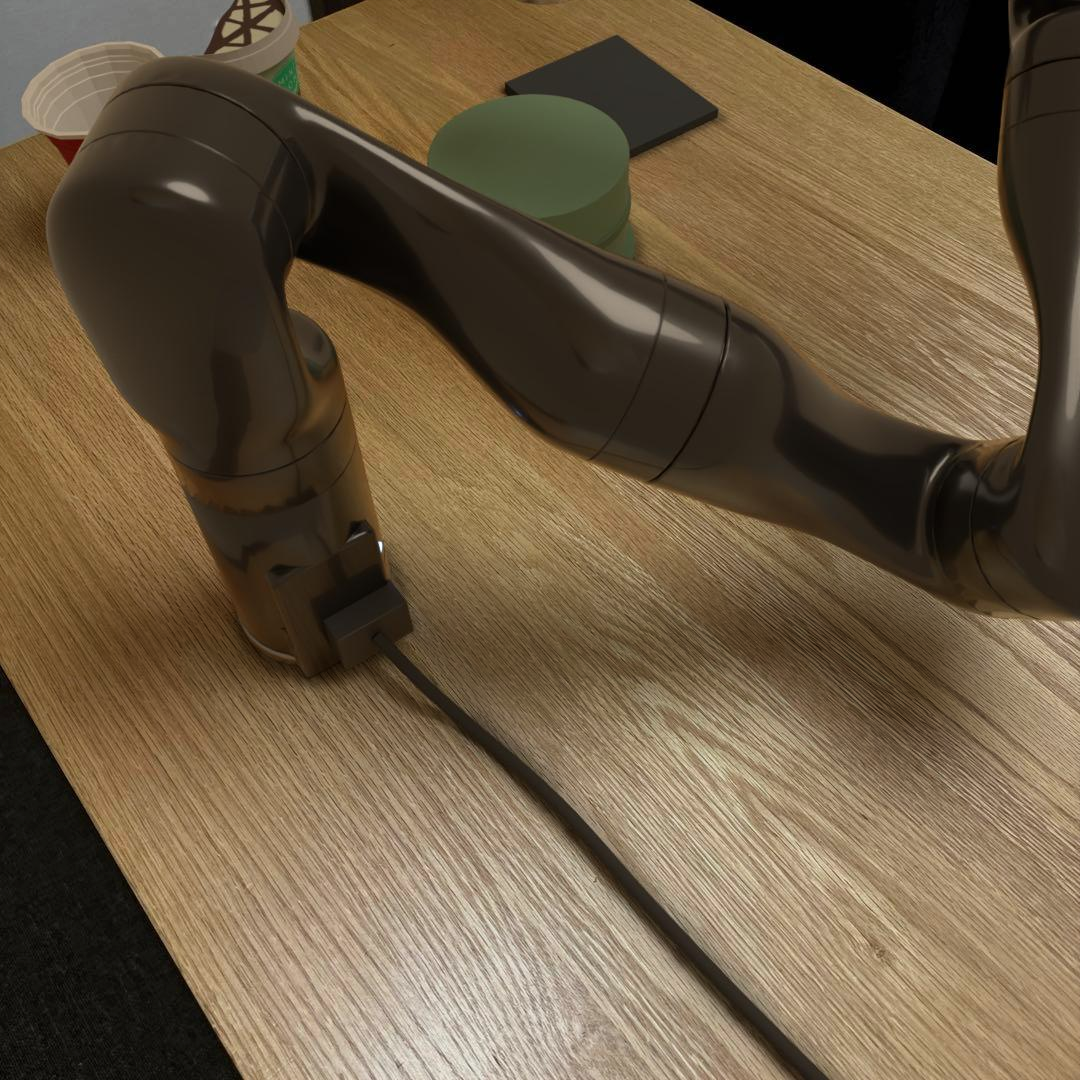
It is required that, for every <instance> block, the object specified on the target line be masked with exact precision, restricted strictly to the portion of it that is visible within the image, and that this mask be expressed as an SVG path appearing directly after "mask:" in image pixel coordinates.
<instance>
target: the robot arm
mask: <svg viewBox="0 0 1080 1080" xmlns="http://www.w3.org/2000/svg"><path fill="white" fill-rule="evenodd" d="M1007 1H1008V37H1009V38H1008V40H1009V41H1008V42H1009V55H1008V60H1007V66H1006V71H1005V75H1004V76H1005V77H1004V85H1003V95H1002V103H1001V104H1002V105H1001V116H1000V128H999V139H998V147H997V149H998V150H997V161H996V187H997V198H998V207H999V212H1000V217H1001V218H1000V219H1001V221H1002V226H1003V229H1004V233H1005V236H1006V239H1007V241H1008V244H1009V246H1010V249H1011V251H1012V254H1013V257H1014V259H1015V262H1016V265H1017V267H1018V269H1019V272H1020V275H1021V277H1022V280H1023V281H1024V285H1025V288H1026V291H1027V294H1028V296H1029V300H1030V304H1031V307H1032V308H1031V309H1032V312H1033V313H1032V314H1033V318H1034V323H1035V327H1036V335H1037V373H1036V381H1035V388H1034V394H1033V400H1032V406H1031V410H1030V415H1029V419H1028V424H1027V428H1026V433H1025V434H1022V435H1021V434H1020V435H1016V436H1015V435H1014V436H1009V437H1005V438H997V439H972V438H966V437H963V436H962V437H961V436H957V435H954V434H949V433H945V432H942V431H939V430H937V429H932V428H929V427H925V426H923V425H920V424H917V423H914V422H912V421H909V420H906V419H903V418H901V417H897V416H895V415H892V414H889V413H886V412H884V411H881V410H879V409H878V408H875V407H872V406H871V405H869V404H866V403H864V402H862V401H861V400H859V399H857V398H856V397H854V396H852V395H851V394H850V393H848V392H847V391H845V390H844V389H842V388H841V386H838V385H837V383H835V382H834V381H833V380H832V379H831V378H830V377H828V375H826V373H825V372H823V371H822V369H820V367H819V366H818V365H817V364H816V363H815V362H814V361H813V360H812V359H811V358H810V357H809V356H808V355H807V354H806V353H805V352H804V351H803V350H802V349H801V348H800V347H799V346H797V344H795V343H794V341H792V340H791V339H790V338H789V337H788V336H786V334H784V333H783V332H782V331H781V330H779V329H778V328H777V327H776V326H775V325H773V324H772V323H770V322H769V321H768V320H767V319H766V318H763V317H762V316H761V315H759V314H757V313H756V312H755V311H752V310H751V309H749V308H747V307H746V306H743V305H741V304H739V302H738V303H737V302H736V301H734V300H732V299H730V298H727V297H725V296H723V295H720V294H718V293H716V292H713V291H711V290H709V289H706V288H705V287H702V286H699V285H697V284H695V283H692V282H690V281H688V280H686V279H683V278H681V277H678V276H676V275H674V274H671V273H669V272H667V271H665V270H662V269H659V268H657V267H655V266H651V265H648V264H647V263H644V262H640V261H638V260H635V259H634V260H632V259H630V258H627V257H624V256H622V255H619V254H617V253H614V252H612V251H609V250H607V249H604V248H602V247H599V246H597V245H595V244H593V243H590V242H588V241H586V240H584V239H581V238H579V237H577V236H575V235H572V234H570V233H568V232H566V231H564V230H561V229H559V228H557V227H555V226H553V225H551V224H549V223H546V222H544V221H542V220H540V219H538V218H535V217H533V216H531V215H529V214H526V213H524V212H522V211H520V210H518V209H516V208H514V207H512V206H509V205H507V204H505V203H503V202H500V201H498V200H496V199H493V198H491V197H489V196H487V195H484V194H482V193H480V192H478V191H476V190H473V189H471V188H469V187H467V186H465V185H463V184H461V183H459V182H457V181H455V180H453V179H451V178H449V177H447V176H445V175H443V174H441V173H439V172H437V171H435V170H433V169H431V168H429V167H428V166H427V165H426V164H424V163H422V162H420V161H418V160H417V159H416V158H415V159H414V158H413V157H411V156H409V155H408V154H405V153H404V152H402V151H400V150H398V149H396V148H394V147H392V146H391V145H389V144H387V143H386V142H384V141H381V139H378V138H377V137H374V136H372V135H371V134H369V133H367V132H366V131H364V130H362V129H360V128H358V127H356V126H355V125H353V124H351V123H349V122H348V121H345V120H344V119H342V118H340V117H339V116H336V115H335V114H333V113H332V112H329V111H328V110H326V109H324V108H322V107H320V106H319V105H317V104H315V103H313V102H311V100H308V99H307V98H304V97H303V96H302V95H301V96H299V95H297V94H295V93H293V92H291V91H289V90H288V89H286V88H284V87H282V86H280V85H278V84H276V83H274V82H271V81H269V80H267V79H265V78H263V77H261V76H259V75H256V74H254V73H252V72H250V71H247V70H245V69H242V68H239V67H237V66H234V65H231V64H228V63H225V62H221V61H218V60H214V59H207V58H201V57H195V56H192V55H172V56H170V55H169V56H165V57H161V58H157V59H154V60H150V61H148V62H145V63H143V64H141V65H139V66H138V67H136V68H134V69H133V70H132V71H131V72H130V73H129V74H128V75H127V76H125V77H124V78H123V79H122V81H121V82H120V83H119V84H118V86H117V87H116V89H115V90H114V92H113V94H112V95H111V97H110V98H109V100H108V102H107V103H106V105H105V106H104V108H103V110H102V111H101V113H100V114H99V116H98V117H97V119H96V121H95V122H94V124H93V126H92V128H91V129H90V131H89V133H88V134H87V136H86V138H85V140H84V141H83V143H82V145H81V147H80V148H79V150H78V152H77V153H76V155H75V157H74V159H73V160H72V163H71V164H70V166H69V165H68V167H67V169H66V171H65V172H64V174H63V175H62V178H61V180H60V181H59V183H58V185H57V187H56V188H55V190H54V192H53V194H52V196H51V199H50V201H49V203H48V206H47V212H46V216H45V237H46V244H47V247H48V248H47V249H48V253H49V256H50V257H49V258H50V260H51V263H52V267H53V269H54V272H55V275H56V277H57V280H58V281H59V284H60V286H61V288H62V291H63V293H64V295H65V297H66V299H67V300H68V303H69V304H70V307H71V308H72V310H73V312H74V313H75V316H76V318H77V319H78V321H79V323H80V325H81V327H82V329H83V330H84V332H85V334H86V336H87V338H88V339H89V342H90V343H91V345H92V347H93V348H94V350H95V353H96V354H97V356H98V358H99V360H100V362H101V363H102V365H103V367H104V368H105V370H106V372H107V374H108V375H109V377H110V380H111V381H112V383H113V385H114V386H115V388H116V390H117V391H118V393H119V395H120V396H121V397H122V399H123V400H124V401H125V402H126V404H127V405H128V406H129V407H130V408H131V409H132V410H133V411H134V413H136V414H137V415H138V416H139V417H140V418H141V419H142V420H144V422H146V423H147V424H148V425H149V426H150V427H151V428H153V429H154V431H156V433H157V435H158V437H159V440H160V442H161V443H162V446H163V448H164V450H165V452H166V455H167V457H168V459H169V461H170V464H171V466H172V468H173V470H174V472H175V475H176V478H177V480H178V483H179V485H180V487H181V489H182V491H183V493H184V496H185V497H186V501H187V503H188V505H189V507H190V510H191V512H192V514H193V516H194V519H195V520H196V523H197V525H198V527H199V530H200V533H201V534H202V537H203V539H204V541H205V544H206V545H207V548H208V551H209V553H210V554H211V556H212V559H213V561H214V564H215V566H216V568H217V570H218V573H219V575H220V578H221V579H222V582H223V584H224V586H225V588H226V591H227V593H228V595H229V597H230V599H231V601H232V603H233V606H234V608H235V610H236V615H237V618H238V620H239V623H240V626H241V628H242V630H243V632H244V634H245V636H246V638H247V639H248V640H249V641H250V643H251V644H252V645H253V646H254V648H256V649H257V650H258V651H259V652H261V653H262V654H264V655H265V656H266V657H268V658H271V659H273V660H275V661H277V662H280V663H283V664H287V665H293V666H298V668H299V669H300V670H301V671H302V673H303V674H304V675H305V677H307V678H312V677H315V676H316V675H318V674H320V673H321V672H323V671H325V670H326V669H328V668H330V667H332V666H334V665H335V664H337V663H339V662H341V664H342V665H343V667H344V669H346V670H349V669H351V668H353V667H355V666H357V665H358V664H360V663H362V662H364V661H365V660H367V659H369V658H370V657H372V656H374V655H376V654H377V653H379V652H382V653H383V655H384V656H385V657H386V658H387V659H388V660H389V661H390V662H391V663H392V664H393V665H394V666H395V667H396V668H397V669H398V670H399V671H400V673H402V674H403V676H404V677H405V678H407V680H408V681H410V682H411V684H412V685H414V686H415V687H416V689H418V690H419V691H420V692H421V693H422V694H423V695H424V696H425V697H426V698H427V699H428V700H429V701H430V702H432V703H433V704H434V705H435V706H436V707H437V708H438V709H439V710H441V712H443V713H444V714H445V715H446V716H447V717H448V718H449V719H451V720H452V721H453V722H454V723H455V724H456V725H458V726H459V727H460V728H461V729H462V730H463V731H464V732H466V734H468V735H469V736H470V737H471V738H472V739H473V740H475V741H476V742H477V743H478V744H479V745H481V747H483V748H484V749H485V750H486V751H488V753H490V754H491V755H492V756H493V757H494V758H496V759H497V760H498V761H500V763H502V764H503V765H504V766H505V767H506V768H508V769H509V770H510V771H511V772H512V773H513V774H515V776H517V777H518V778H519V779H520V780H521V781H522V782H523V783H525V784H526V786H528V787H529V788H530V789H531V790H532V791H533V792H534V793H536V794H537V795H538V796H539V798H541V799H542V800H543V801H544V802H545V803H546V804H547V805H548V806H549V807H550V808H551V809H552V810H553V811H554V812H555V813H556V815H558V816H559V817H560V818H561V819H562V820H563V821H564V822H565V823H566V825H567V826H568V827H569V828H570V829H571V830H572V831H573V832H574V833H575V834H576V835H577V836H578V837H579V838H580V840H581V841H582V842H583V843H584V844H585V845H586V846H587V848H588V849H589V850H590V851H591V853H593V854H594V856H595V857H596V858H597V859H598V860H599V861H600V863H601V864H602V865H603V866H604V867H605V869H606V870H607V871H608V872H609V873H610V875H612V876H613V877H614V879H615V880H616V881H617V882H618V884H620V886H621V887H622V888H623V890H625V892H627V894H628V895H629V896H630V897H631V898H632V899H633V900H634V902H635V903H636V904H637V905H638V906H639V907H640V909H642V910H643V911H644V912H645V913H646V914H647V916H648V917H649V918H650V920H652V921H653V922H654V923H655V924H656V926H658V927H659V929H660V930H661V931H662V932H663V933H664V934H665V935H666V937H668V939H670V940H671V942H672V943H673V944H674V945H675V946H676V947H677V948H678V949H679V950H680V952H682V954H683V955H684V956H685V957H686V958H687V959H688V960H689V961H690V962H691V963H692V965H694V967H696V969H697V970H698V971H699V972H700V973H701V974H702V975H703V976H704V977H705V978H706V979H707V980H708V982H710V983H711V984H712V985H713V987H714V988H715V989H716V990H717V991H718V992H719V993H720V994H721V995H722V996H723V997H724V998H725V999H726V1000H727V1001H728V1002H729V1003H730V1004H731V1005H732V1006H733V1007H734V1008H735V1009H736V1010H737V1012H739V1013H740V1015H741V1016H743V1017H744V1018H745V1020H746V1021H747V1022H748V1023H749V1024H750V1025H751V1026H752V1027H753V1028H754V1029H755V1030H756V1031H757V1032H758V1033H759V1034H760V1035H761V1037H763V1038H764V1039H765V1040H766V1041H767V1042H768V1043H769V1044H770V1045H771V1046H772V1047H773V1048H774V1049H775V1051H777V1052H778V1053H779V1055H780V1056H781V1057H783V1059H784V1060H786V1061H787V1062H788V1064H789V1065H790V1066H792V1067H793V1068H794V1070H795V1071H797V1073H799V1075H801V1077H803V1079H805V1080H831V1079H830V1078H829V1077H828V1076H827V1075H826V1074H825V1073H824V1072H823V1071H822V1070H821V1069H820V1068H819V1067H818V1066H817V1065H816V1064H815V1063H814V1062H812V1060H811V1059H810V1058H809V1057H808V1056H806V1054H804V1052H803V1051H801V1049H799V1048H798V1047H797V1045H795V1043H793V1042H792V1041H791V1039H789V1038H788V1036H787V1035H786V1034H785V1033H783V1031H782V1030H781V1029H780V1028H779V1027H778V1026H777V1025H776V1024H775V1023H774V1022H773V1021H772V1020H771V1019H770V1018H769V1017H768V1016H767V1015H766V1014H765V1013H764V1012H763V1011H762V1010H761V1009H760V1008H759V1007H758V1006H757V1005H756V1004H755V1003H754V1002H753V1001H752V1000H751V999H750V998H749V997H748V996H747V995H746V993H744V992H743V991H742V990H741V988H740V987H738V986H737V985H736V984H735V983H734V982H733V981H732V979H730V977H728V975H727V974H726V973H725V972H724V971H723V970H722V969H721V968H720V967H719V966H718V965H717V964H716V963H715V962H714V961H713V960H712V959H711V957H709V956H708V955H707V953H706V952H705V951H703V949H702V948H701V947H700V945H698V944H697V943H696V942H695V941H694V940H693V939H692V938H691V936H690V935H689V934H688V933H687V932H685V930H684V929H683V928H682V927H681V926H680V925H679V923H677V922H676V920H675V919H674V918H673V917H672V916H671V915H670V914H669V913H668V912H667V911H666V910H665V909H664V908H663V907H662V906H661V904H660V903H659V902H658V901H657V900H656V899H655V898H654V897H653V896H652V895H651V893H649V891H648V890H646V888H645V887H644V886H643V885H642V884H641V883H640V882H639V880H638V879H637V878H636V877H635V876H634V874H632V873H631V871H629V869H628V868H627V867H626V866H625V864H624V863H623V862H622V861H621V860H620V858H618V856H616V855H615V853H614V852H613V851H612V850H611V848H609V846H608V845H607V844H606V843H605V842H604V841H603V840H602V838H601V837H600V836H599V835H598V834H597V833H596V832H595V831H594V829H592V827H591V826H590V825H589V824H588V823H587V822H586V820H584V819H583V817H582V816H580V814H579V813H578V812H577V811H576V810H575V809H574V808H573V807H572V806H571V804H569V803H568V802H567V801H566V800H565V799H564V798H563V797H562V796H561V795H560V794H559V793H558V792H557V791H556V790H555V789H554V788H553V787H552V786H550V784H548V782H546V781H545V780H544V779H543V778H542V777H541V776H540V775H539V774H537V773H536V772H535V770H533V769H532V768H531V767H530V766H529V765H528V764H526V763H525V762H524V761H523V760H522V759H521V758H520V757H518V756H517V755H516V753H513V752H512V751H511V750H510V749H509V748H507V746H505V745H504V744H503V743H502V742H500V741H499V740H498V739H496V737H494V736H493V735H492V734H490V732H488V731H487V730H486V729H485V728H484V727H483V726H482V725H480V724H479V723H478V722H476V720H475V719H473V718H472V717H471V716H470V715H469V714H468V713H466V711H464V710H463V709H462V708H461V707H460V706H459V705H457V704H456V703H455V702H454V701H453V700H452V699H450V697H448V695H446V694H445V693H444V692H443V691H442V690H440V688H438V686H436V685H435V684H434V683H433V681H431V680H430V679H429V678H428V677H427V676H426V675H425V674H424V673H423V672H422V671H421V670H420V668H418V667H417V666H416V665H415V664H414V663H413V662H412V661H411V659H409V658H408V657H407V656H406V655H405V654H404V653H403V651H401V650H400V648H398V646H397V645H396V644H394V643H396V642H398V641H400V640H401V639H403V638H404V637H406V636H408V635H409V634H411V633H413V632H414V630H415V629H414V627H413V622H412V617H411V613H410V608H409V605H408V601H407V600H406V599H405V596H403V594H402V593H401V592H400V590H399V589H398V588H397V586H396V581H395V577H394V573H393V569H392V566H391V563H390V562H389V559H388V556H387V551H386V547H385V543H384V539H383V536H382V532H381V528H380V523H379V519H378V516H377V511H376V507H375V503H374V499H373V496H372V491H371V487H370V484H369V479H368V474H367V471H366V467H365V466H366V465H365V463H364V458H363V455H362V451H361V446H360V442H359V437H358V433H357V430H356V429H357V428H356V423H355V420H354V415H353V412H352V408H351V404H350V400H349V397H348V396H349V395H348V392H347V389H346V382H345V378H344V374H343V373H344V372H343V370H342V365H341V361H340V358H339V355H338V352H337V350H336V347H335V345H334V343H333V341H332V339H331V337H330V336H329V335H328V333H327V332H326V331H325V330H324V329H323V327H322V326H321V325H320V324H318V322H316V321H315V320H314V319H313V318H311V317H309V316H308V315H306V314H305V313H303V312H300V311H298V310H296V309H293V308H291V307H289V305H288V301H287V300H288V299H287V294H286V282H287V280H288V278H289V275H290V272H291V270H292V267H293V264H294V262H295V261H298V262H302V263H305V264H306V265H307V264H308V265H310V266H313V267H314V268H318V269H320V270H323V271H325V272H328V273H330V274H333V275H335V276H337V277H340V278H342V279H345V280H346V281H348V282H351V283H354V284H356V285H358V286H360V287H362V288H364V289H366V290H369V291H370V292H372V293H374V294H375V295H378V296H380V297H381V298H383V299H385V300H386V301H389V302H390V303H392V304H393V305H394V306H396V307H397V308H399V309H401V310H402V311H404V312H405V313H406V314H408V315H409V316H411V317H412V318H413V319H414V320H416V321H417V322H418V323H419V324H421V325H422V326H423V327H424V328H425V329H426V330H428V331H429V332H430V333H431V335H432V336H433V337H435V338H436V339H437V341H438V342H440V344H442V346H444V347H445V349H447V351H449V353H450V354H451V355H452V356H453V357H454V358H455V359H456V360H457V361H458V362H459V364H460V365H461V366H462V367H463V368H464V369H465V370H466V371H467V372H468V373H469V374H470V376H472V378H474V380H476V382H478V383H479V384H480V386H481V387H482V388H483V389H484V390H485V391H486V392H487V393H488V394H489V395H490V396H491V397H492V398H493V399H494V400H495V401H496V402H497V403H498V404H499V405H500V406H501V407H502V408H503V409H504V410H505V411H506V412H507V413H508V414H509V415H510V416H511V417H512V418H513V419H515V420H516V421H517V422H518V424H520V425H521V426H522V427H523V428H524V429H526V430H527V431H528V432H530V434H532V435H533V436H534V437H536V438H538V439H539V440H541V441H542V442H544V443H545V444H546V445H548V446H549V447H551V448H554V449H555V450H558V452H559V451H560V452H562V453H564V454H566V455H569V456H571V457H573V458H575V459H578V460H581V461H583V462H585V463H588V464H591V465H593V466H595V467H599V468H602V469H604V470H606V471H608V472H611V473H615V474H618V475H620V476H623V477H625V478H629V479H631V480H634V481H636V482H639V483H642V484H644V485H647V486H651V487H653V488H656V489H657V490H658V489H659V490H662V491H665V492H668V493H671V494H674V495H678V496H681V497H684V498H687V499H690V500H692V501H696V502H699V503H701V504H705V505H707V506H710V507H714V508H717V509H720V510H722V511H723V510H724V511H727V512H730V513H733V514H736V515H739V516H743V517H745V518H749V519H752V520H756V521H759V522H763V523H767V524H771V525H774V526H778V527H783V528H786V529H789V530H793V531H796V532H799V533H802V534H805V535H809V536H810V537H813V538H816V539H818V540H820V541H823V542H825V543H828V544H830V545H833V546H835V547H837V548H839V549H841V550H843V551H845V552H847V553H849V554H852V555H853V556H855V557H857V558H859V559H861V560H863V561H865V562H867V563H868V564H870V565H873V566H875V567H877V568H879V569H881V570H883V571H885V572H886V573H888V574H891V575H892V576H894V577H896V578H898V579H900V580H902V581H904V582H906V583H908V584H910V585H911V586H913V587H915V588H917V589H919V590H921V591H923V592H925V593H926V594H929V595H930V596H933V597H934V598H936V599H939V600H940V601H942V602H944V603H946V604H948V605H950V606H953V607H954V608H957V609H960V610H962V611H964V612H967V613H971V614H973V615H974V614H975V615H978V616H981V617H985V618H990V619H1000V620H1018V621H1019V620H1020V621H1021V620H1022V621H1042V622H1043V621H1044V622H1064V623H1065V622H1066V623H1067V622H1068V623H1069V622H1070V623H1072V622H1073V623H1077V622H1078V623H1079V622H1080V0H1007Z"/></svg>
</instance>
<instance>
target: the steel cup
mask: <svg viewBox="0 0 1080 1080" xmlns="http://www.w3.org/2000/svg"><path fill="white" fill-rule="evenodd" d="M569 1H571V0H515V2H519V3H523V4H529V5H536V6H537V5H540V6H548V5H558V4H563V3H566V2H569Z"/></svg>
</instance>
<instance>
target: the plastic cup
mask: <svg viewBox="0 0 1080 1080" xmlns="http://www.w3.org/2000/svg"><path fill="white" fill-rule="evenodd" d="M161 57H166V56H165V55H163V54H162V53H161V52H160V51H159V50H158V49H157V48H155V47H154V46H151V45H147V44H143V43H139V42H136V41H132V40H131V41H130V40H129V41H106V42H105V41H104V42H101V43H97V44H94V45H91V46H90V45H89V46H86V47H82V48H78V49H76V50H73V51H72V52H70V53H68V54H66V55H64V56H62V57H60V58H58V59H56V60H54V61H52V62H50V63H49V64H48V65H47V66H46V67H45V68H43V69H42V70H41V71H40V72H39V73H38V74H36V75H35V76H34V77H33V78H32V79H31V80H30V82H29V84H28V85H27V87H26V89H25V91H24V92H23V95H21V96H22V97H21V98H20V99H21V116H22V117H23V118H24V119H25V120H26V121H27V122H28V123H29V124H30V126H32V128H34V130H35V131H36V132H38V133H39V134H41V135H44V136H45V137H46V138H47V139H48V140H49V142H50V143H51V144H52V145H53V146H54V147H55V148H56V149H57V150H58V152H59V153H60V155H61V156H62V158H63V159H64V161H65V162H66V164H67V166H68V167H69V166H70V164H71V163H72V160H73V159H74V157H75V155H76V153H77V152H78V150H79V148H80V147H81V145H82V143H83V141H84V140H85V138H86V136H87V134H88V133H89V131H90V129H91V128H92V126H93V124H94V122H95V121H96V119H97V117H98V116H99V114H100V113H101V111H102V110H103V108H104V106H105V105H106V103H107V102H108V100H109V98H110V97H111V95H112V94H113V92H114V90H115V89H116V87H117V86H118V84H119V83H120V82H121V81H122V79H123V78H124V77H125V76H127V75H128V74H129V73H130V72H131V71H132V70H133V69H134V68H136V67H138V66H139V65H141V64H143V63H145V62H148V61H150V60H154V59H157V58H161Z"/></svg>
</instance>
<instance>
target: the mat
mask: <svg viewBox="0 0 1080 1080" xmlns="http://www.w3.org/2000/svg"><path fill="white" fill-rule="evenodd" d="M504 91H505V93H507V94H508V95H509V96H515V95H529V94H539V95H553V96H560V97H565V98H570V99H573V100H577V101H580V102H583V103H586V104H588V105H591V106H593V107H595V108H596V109H598V110H600V111H602V112H603V113H605V114H606V115H608V116H609V117H610V118H611V119H612V120H613V121H615V122H616V123H617V125H618V126H619V127H620V128H621V130H622V131H623V133H624V135H625V137H626V139H627V142H628V145H629V154H630V156H629V159H631V158H634V157H635V156H637V155H639V154H642V153H644V152H646V151H648V150H650V149H652V148H655V147H656V146H659V145H661V144H663V143H665V142H667V141H669V140H671V139H673V138H676V137H677V136H680V135H682V134H684V133H686V132H688V131H691V130H693V129H694V128H697V127H699V126H701V125H703V124H706V123H708V122H710V121H711V120H714V119H716V118H719V108H718V106H716V105H715V104H713V103H712V102H710V101H709V100H707V98H705V97H704V96H702V95H701V94H700V93H698V92H696V91H695V90H694V89H692V88H691V87H690V86H688V85H687V84H686V83H685V82H683V81H682V80H680V79H679V78H678V77H676V76H675V75H673V74H672V73H671V72H670V71H668V70H666V69H665V68H664V67H663V66H662V65H660V64H658V63H657V62H656V61H654V60H653V59H652V58H650V57H649V56H647V54H645V53H643V52H642V51H640V50H639V49H638V48H637V47H635V46H634V45H633V44H631V43H630V42H628V41H627V40H626V39H624V38H623V37H622V36H620V35H619V34H615V35H613V36H610V37H607V38H605V39H603V40H600V41H598V42H597V43H594V44H592V45H589V46H587V47H584V48H582V49H579V50H577V51H576V52H573V53H570V54H568V55H566V56H564V57H561V58H558V59H556V60H555V61H551V62H550V63H546V64H545V65H542V66H540V67H537V68H536V69H533V70H531V71H529V72H525V73H524V74H521V75H519V76H517V77H514V78H512V79H510V80H508V81H505V82H504Z"/></svg>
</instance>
